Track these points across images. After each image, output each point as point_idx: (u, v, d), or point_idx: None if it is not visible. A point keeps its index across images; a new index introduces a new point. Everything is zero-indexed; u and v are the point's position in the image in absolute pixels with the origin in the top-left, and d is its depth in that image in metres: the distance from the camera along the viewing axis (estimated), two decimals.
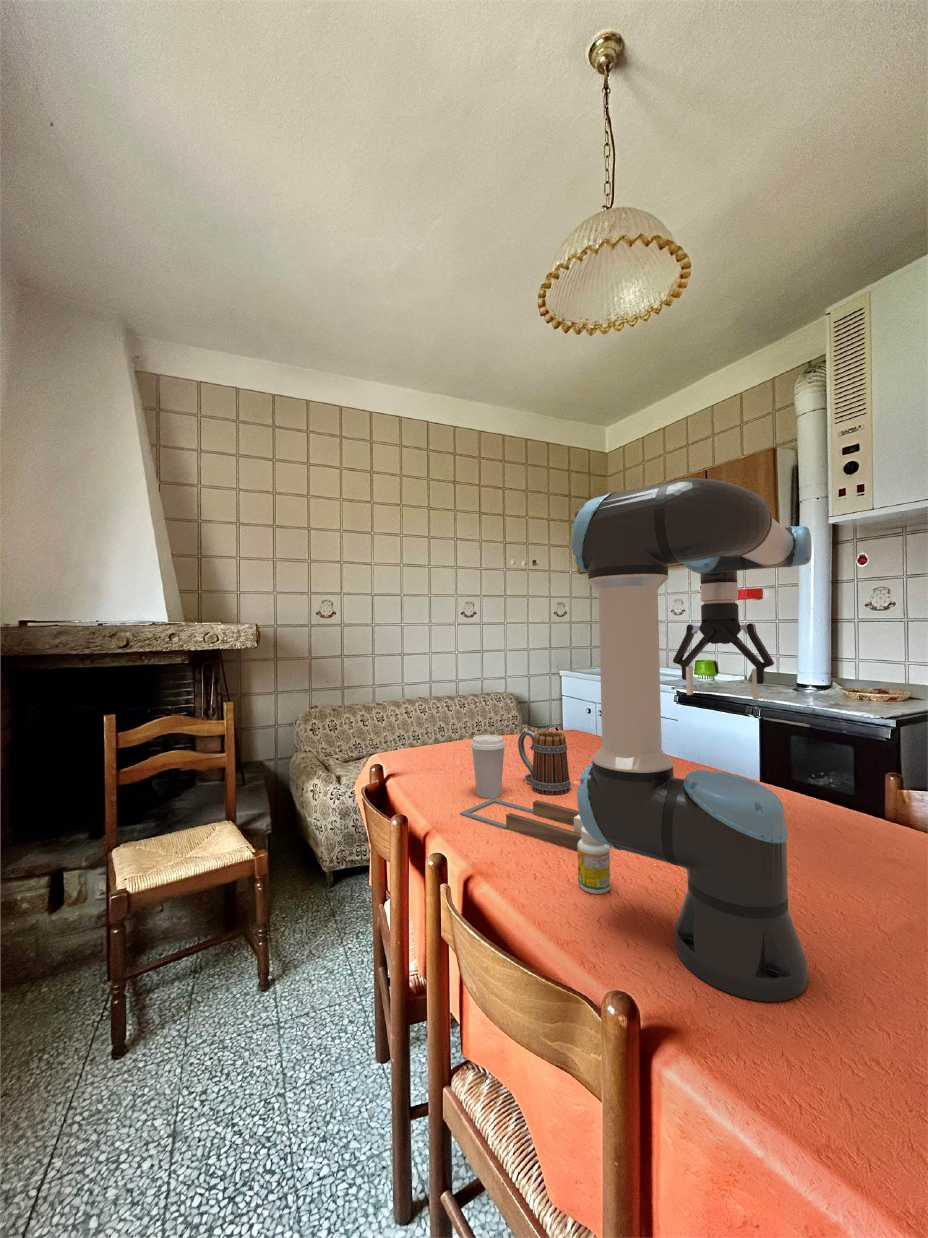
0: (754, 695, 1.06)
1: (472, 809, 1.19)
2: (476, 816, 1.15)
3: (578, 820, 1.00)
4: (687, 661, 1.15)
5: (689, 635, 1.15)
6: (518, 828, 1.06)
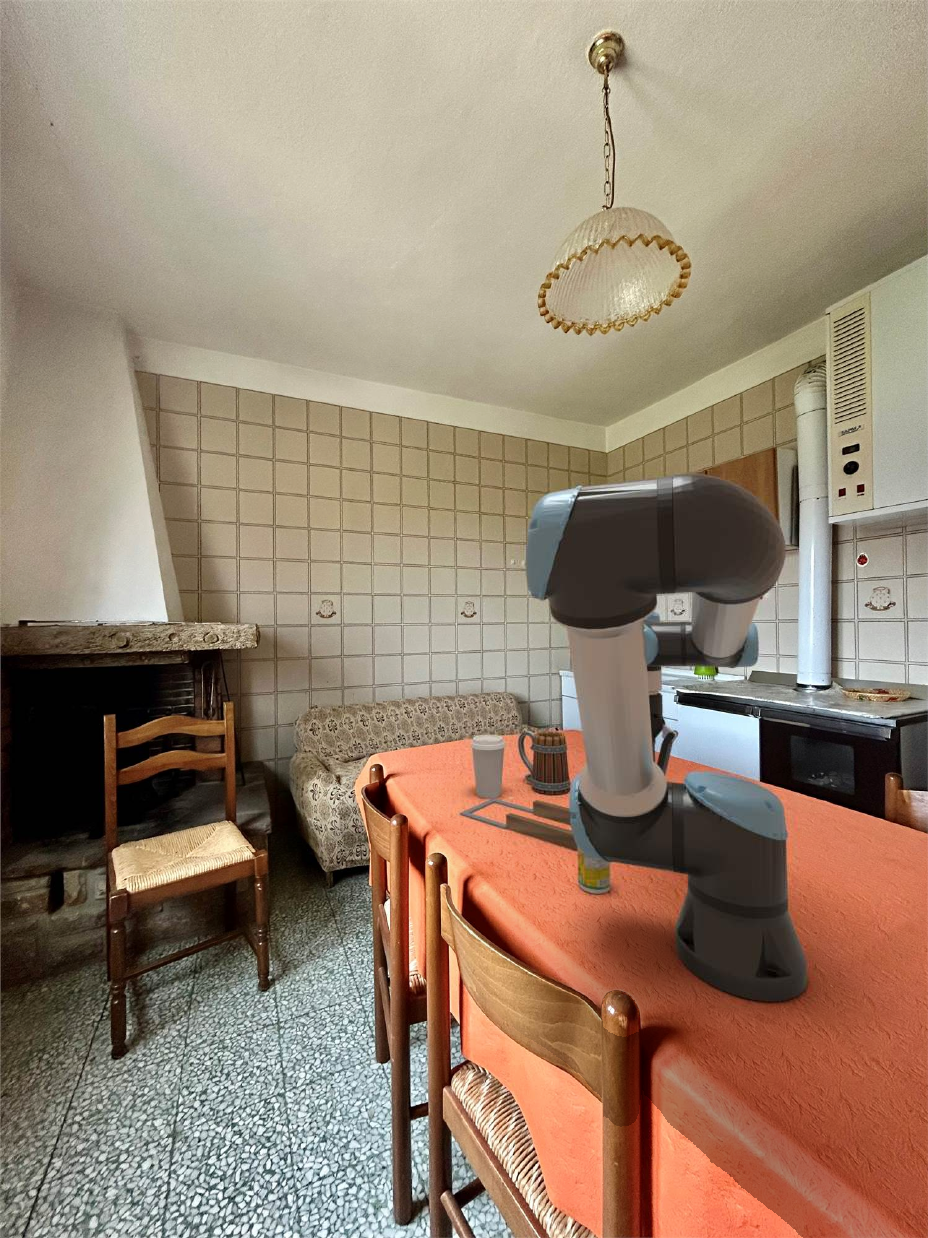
0: None
1: (472, 809, 1.19)
2: (476, 816, 1.15)
3: None
4: None
5: None
6: (518, 828, 1.06)
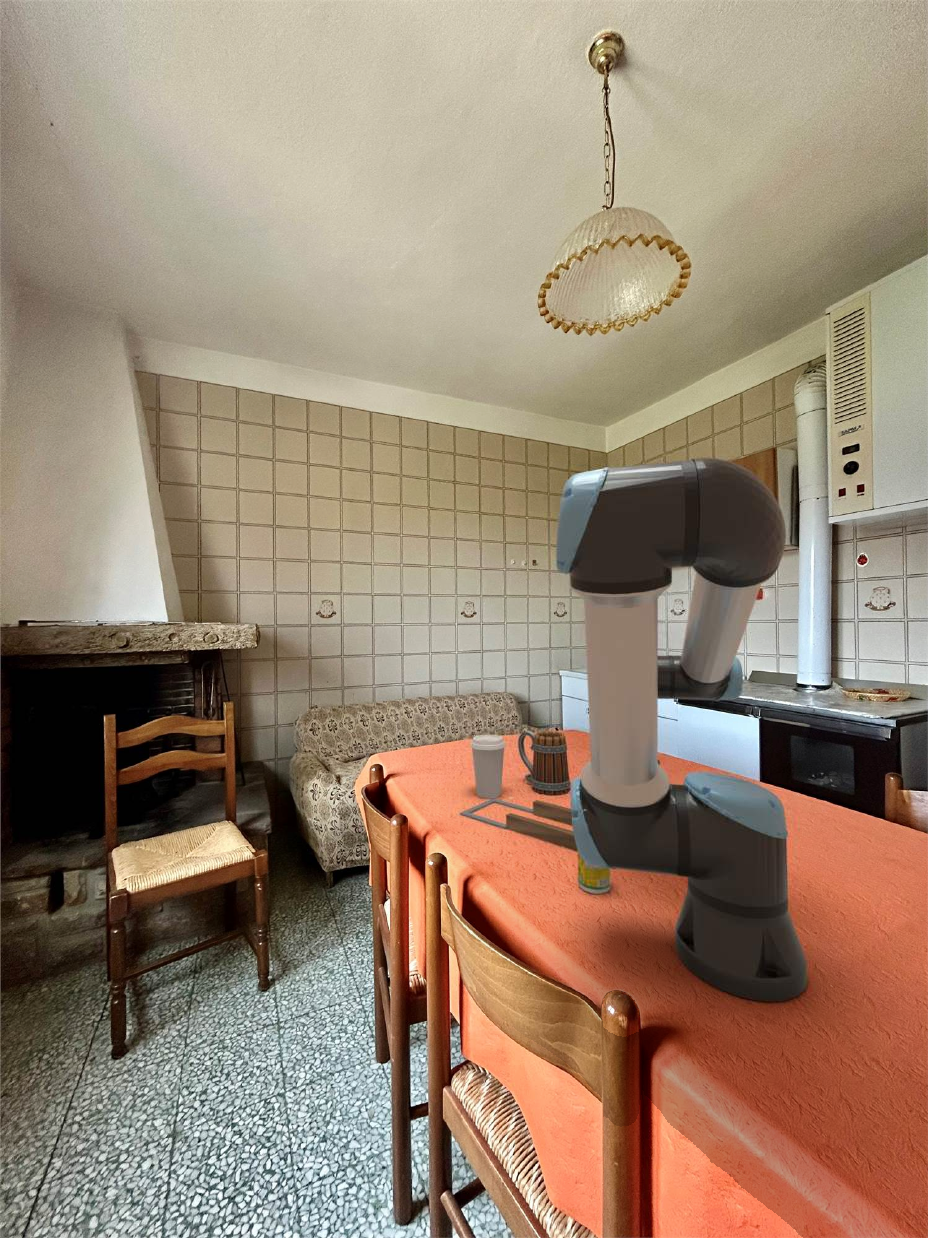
0: None
1: (472, 809, 1.19)
2: (476, 816, 1.15)
3: None
4: None
5: None
6: (518, 828, 1.06)
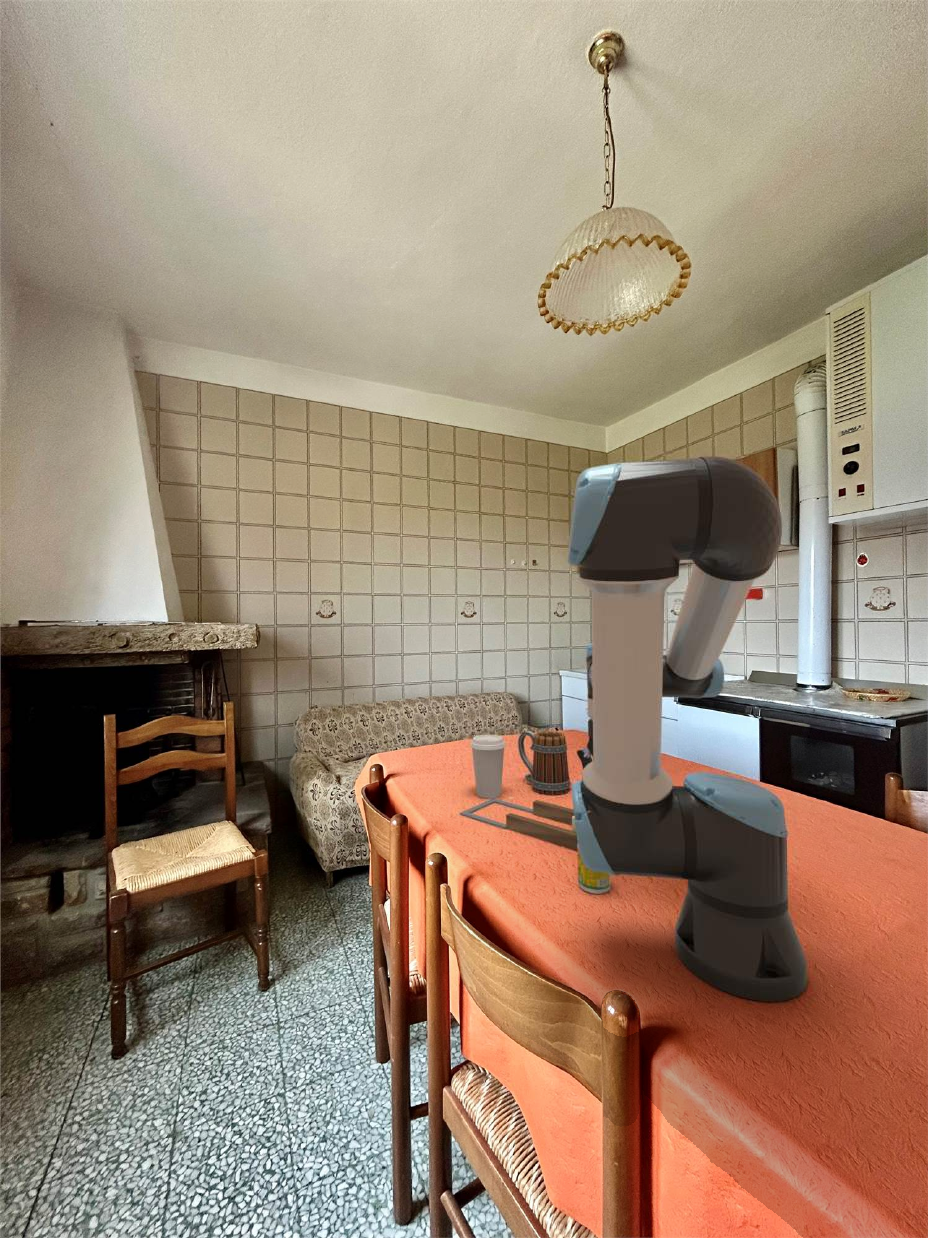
0: None
1: (472, 809, 1.19)
2: (476, 816, 1.15)
3: None
4: None
5: (585, 761, 1.01)
6: (518, 828, 1.06)
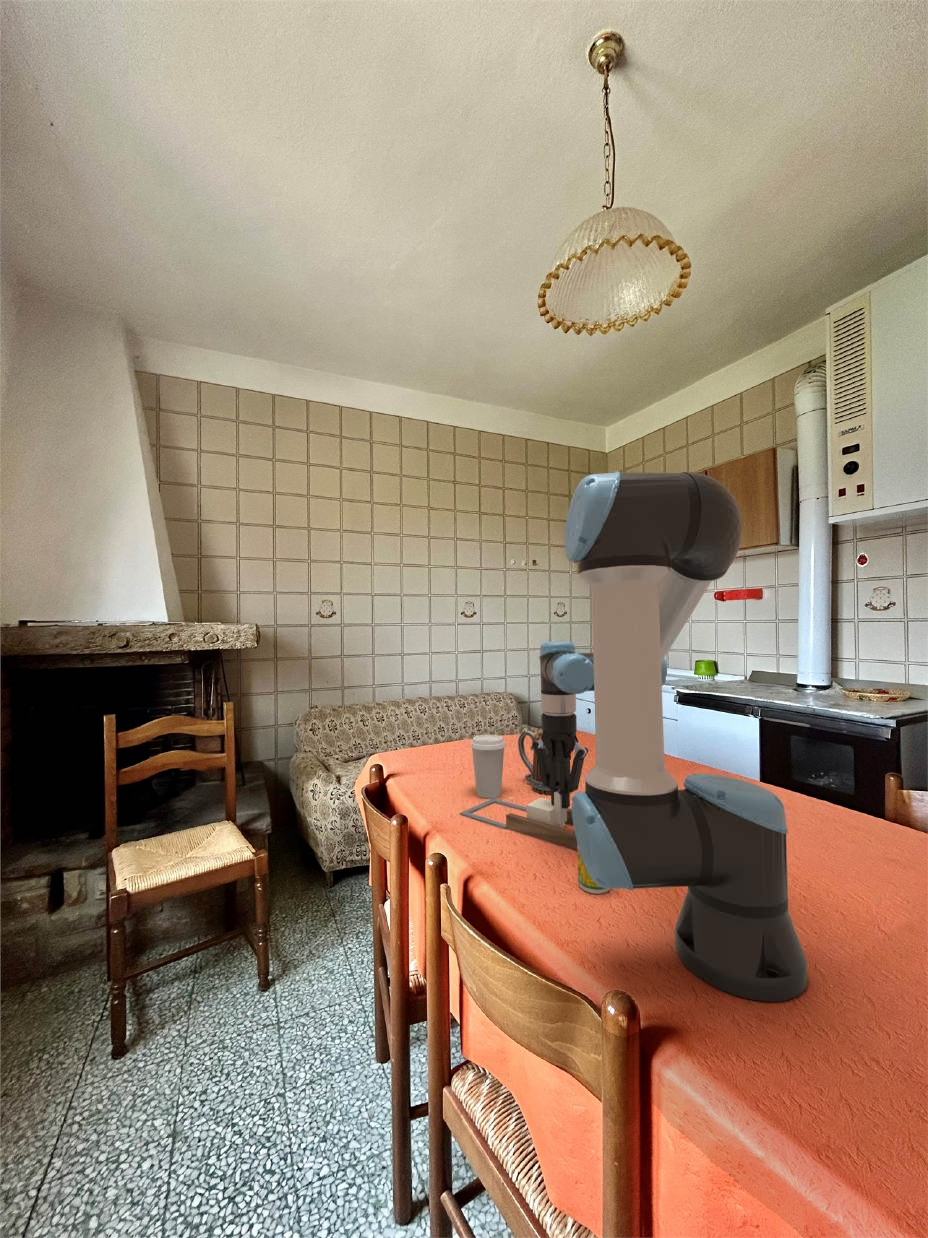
0: (558, 819, 1.05)
1: (472, 809, 1.19)
2: (476, 816, 1.15)
3: (530, 806, 1.08)
4: (553, 784, 1.07)
5: (539, 752, 1.09)
6: (518, 828, 1.06)
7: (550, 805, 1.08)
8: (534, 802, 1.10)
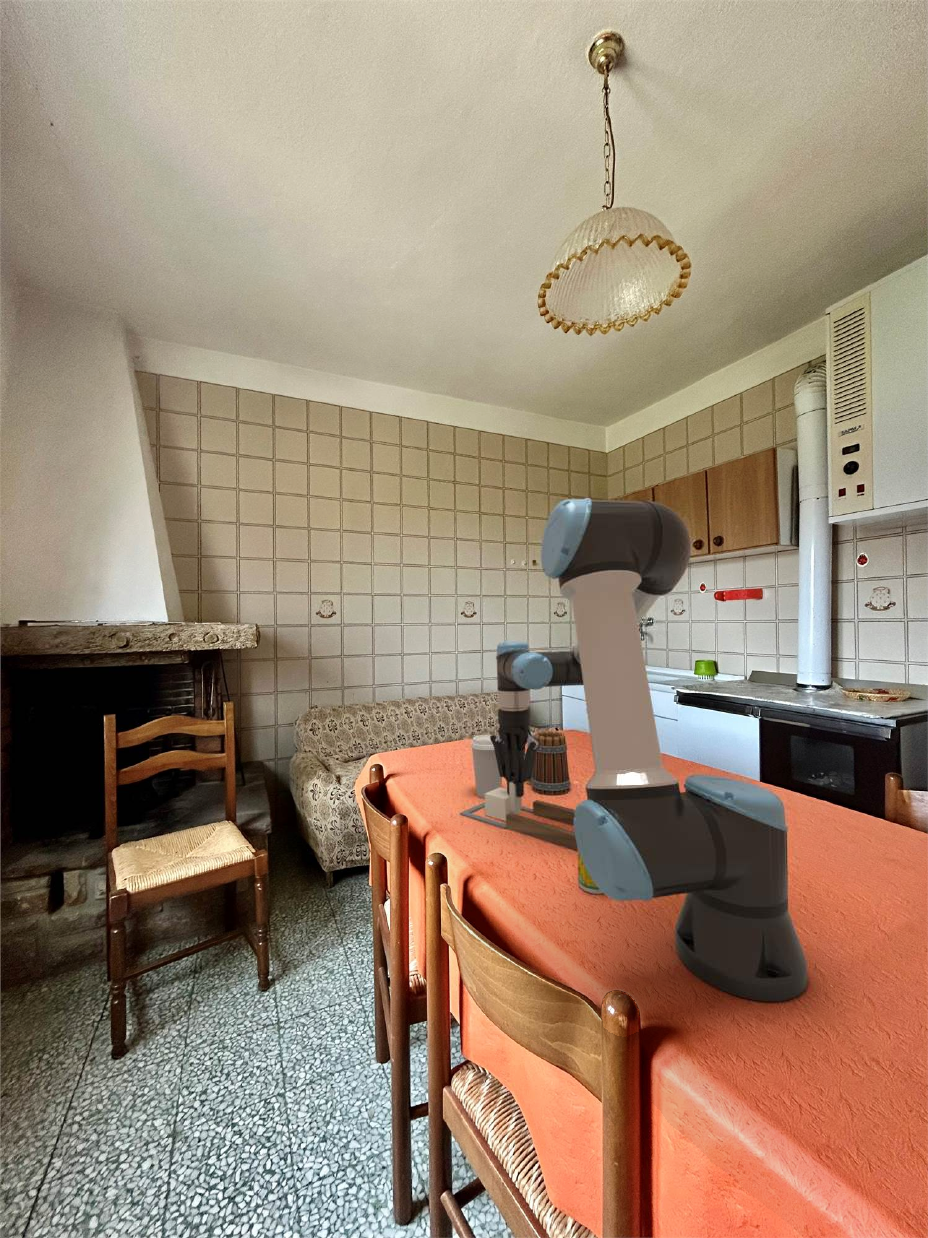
0: (513, 807, 1.13)
1: (472, 809, 1.19)
2: (476, 816, 1.15)
3: (488, 795, 1.16)
4: (508, 774, 1.14)
5: (496, 745, 1.17)
6: (518, 828, 1.06)
7: (507, 794, 1.16)
8: (492, 791, 1.18)
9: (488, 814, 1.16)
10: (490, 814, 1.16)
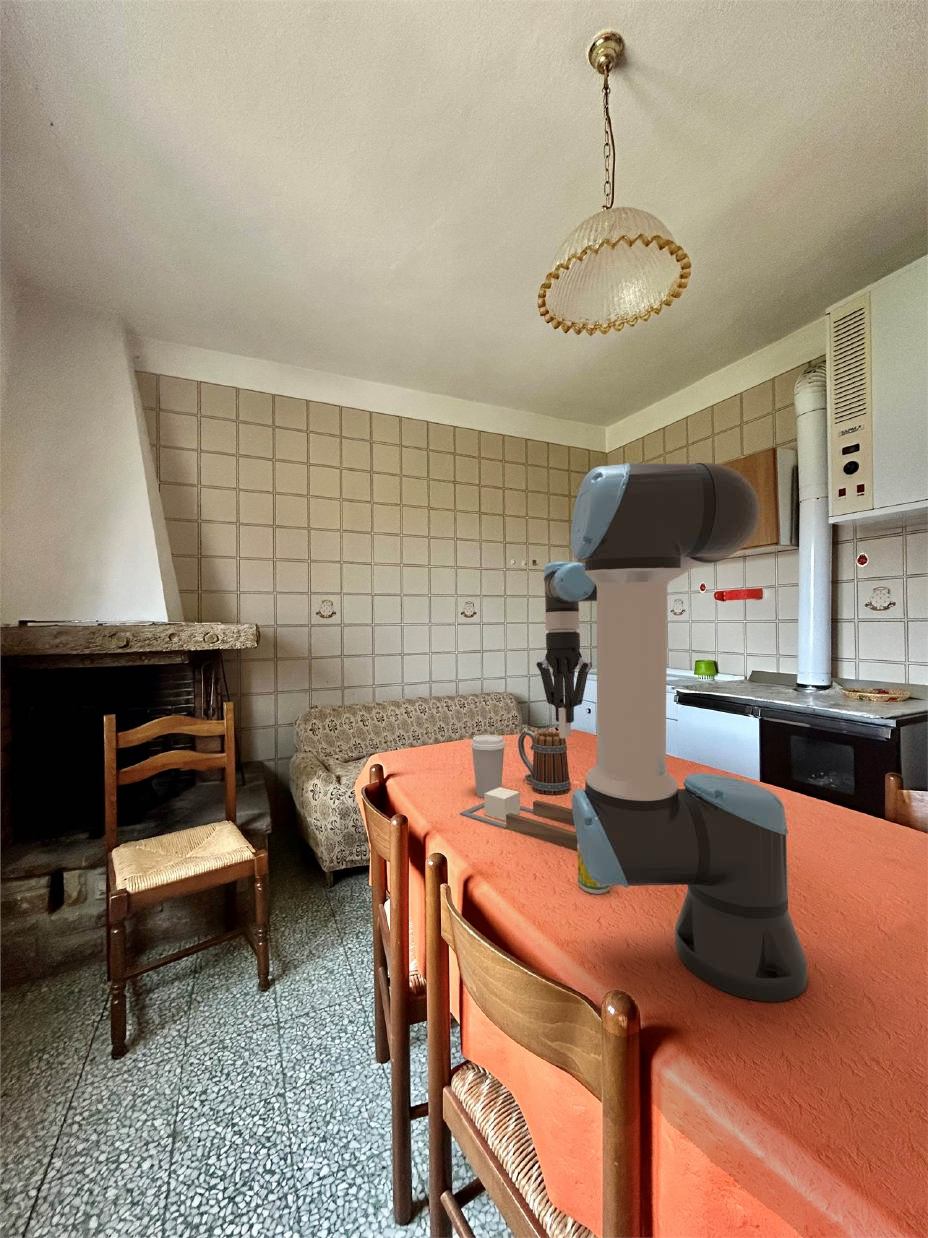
0: (563, 733, 1.09)
1: (472, 809, 1.19)
2: (476, 816, 1.15)
3: (487, 795, 1.16)
4: (557, 700, 1.10)
5: (543, 671, 1.12)
6: (518, 828, 1.06)
7: (506, 794, 1.16)
8: (492, 791, 1.18)
9: (488, 814, 1.16)
10: (490, 814, 1.16)
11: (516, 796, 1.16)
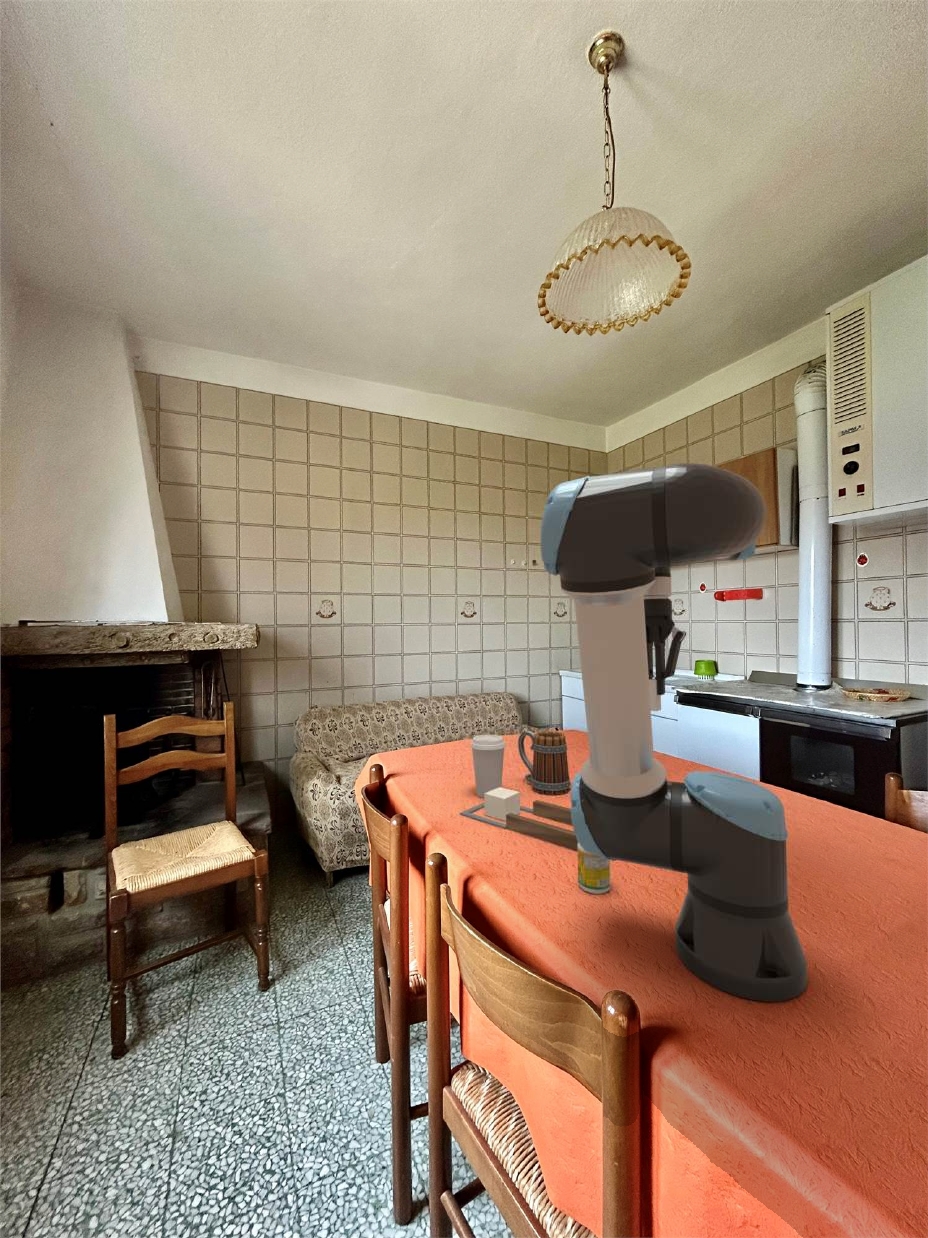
0: (654, 706, 1.03)
1: (472, 809, 1.19)
2: (476, 816, 1.15)
3: (487, 795, 1.16)
4: (647, 671, 1.04)
5: None
6: (518, 828, 1.06)
7: (506, 794, 1.16)
8: (492, 791, 1.18)
9: (488, 814, 1.16)
10: (490, 814, 1.16)
11: (516, 796, 1.16)
